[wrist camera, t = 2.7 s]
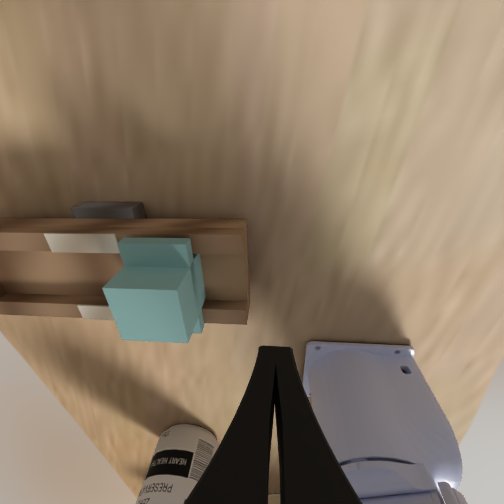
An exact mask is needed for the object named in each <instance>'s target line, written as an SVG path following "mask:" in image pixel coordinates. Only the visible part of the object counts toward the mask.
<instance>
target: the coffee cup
mask: <svg viewBox="0 0 504 504" xmlns="http://www.w3.org/2000/svg"><path fill="white" fill-rule="evenodd" d="M268 504H280V494H269V495H268Z"/></svg>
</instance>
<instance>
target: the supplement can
mask: <svg viewBox="0 0 504 504" xmlns="http://www.w3.org/2000/svg"><path fill="white" fill-rule="evenodd" d="M218 447H219V443H218V441H217V440H216V437H215V436H214V435H213V434H212V433H211V432H210V431H208V430H206V429H204V428H202V427H199V426H196V425H189V424H179V425H174V426H172V427H170V428H169V429H168V430H166V431H164V432H163V433H162V434H161V435H160V438H159V441H158V443H157V446H156V449H155V452H154V454H153V457H152V460H151V463H150V466H149V468H148V471H147V474H146V477H145V479H144V482H143V485H142V488H141V490H140V493H139V496H138V499H137V502H136V504H184V502H185V501H186V499H187V498H188V496H189V494H190V493H191V491H192V490H193V488H194V487H195V485H196V484H197V482H198V481H199V479H200V477H201V476H202V474H203V473H204V471H205V469H206V468H207V466H208V464H209V463H210V461H211V459H212V457H213V456H214V454H215V452H216V450H217V449H218Z"/></svg>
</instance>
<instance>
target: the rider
mask: <svg viewBox="0 0 504 504" xmlns="http://www.w3.org/2000/svg"><path fill="white" fill-rule="evenodd" d="M117 246H118V249H119V252H120V255H121V258H122V261H123V264H124V267H123V268H122V269H121V270H120V271H119V272H118V273H117V274H116V275H115V276H114V277H113V278H112V279H111V280H110V281H109V282H108V283H107V284H106V285H105V286H104V287H103V288H102V289H103V292H104V294H105V297H106V299H107V302H108V304H109V307H110V310H111V312H112V315H113V317H114V320H115V322H116V325H117V328H118V330H119V333H120V335H121V338H122V340H132V341H153V342H173V343H189V340H190V337H191V335H192V333H200V334H201V333H202V330H203V327H204V321H203V314H202V306H203V304H204V301H205V298H206V293H205V286H204V280H203V273H202V266H201V259H200V254H193V253H192V247H191V241H190V238H131V237H124V238H123V239H122V240H121V241H119V242H118V243H117Z"/></svg>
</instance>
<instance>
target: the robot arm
mask: <svg viewBox="0 0 504 504" xmlns="http://www.w3.org/2000/svg"><path fill="white" fill-rule="evenodd" d="M317 346H319V347H317ZM414 353H415V350H414V349H413V347H412V346H404V345H383V344H361V343H340V342H318V341H310V342H308V343H307V345H306V354H305V363H304V372H303V381H302V382H301V379H300V376H299V373H298V370H297V366H296V363H295V359H294V355H293V349H292V348H291V347H279V346H260V347H259V351H258V356H257V360H256V363H255V367H254V370H253V373H252V376H251V378H250V381H249V384H248V386H247V389H246V391H245V394H244V396H243V398H242V401H241V403H240V405H239V407H238V410H237V412H236V414H235V416H234V418H233V420H232V422H231V424H230V426H229V428H228V430H227V432H226V434H225V436H224V438H223V440H222V441H221V443H220V445H219V447H218V449H217V450H216V452H215V454H214V456H213V457H212V459H211V461H210V463H209V464H208V466H207V468H206V469H205V471H204V473H203V474H202V476H201V477H200V479H199V481H198V482H197V484H196V485H195V487H194V488H193V490H192V491H191V493H190V494H189V496H188V498H187V499H186V501H185V502H184V504H268V480H269V462H270V450H271V439H272V428H273V417H274V405H275V412H276V426H277V439H278V452H279V467H280V504H445V503H446V504H467V502H466V500H465V498H464V496H463V495H462V494H461V493H460V492H458V491H457V490H456V489H457V488H458V487H459V485H460V482H461V478H462V460H461V455H460V451H459V447H458V443H457V440H456V437H455V435H454V432H453V430H452V427H451V425H450V423H449V421H448V419H447V418H446V416H445V414H444V412H443V410H442V409H441V407H440V405H439V403H438V401H437V400H436V398H435V396H434V394H433V393H432V391H431V389H430V387H429V385H428V384H427V382H426V380H425V378H424V376H423V375H422V373H421V371H420V369H419V368H418V366H417V364H416V362H415V360H414V359H413V356H414ZM308 397H311V403H312V407H311V405H310V402H309V400H308ZM440 492H441V494H442V496H443V498H442V496H441V494H440ZM443 499H444V500H443ZM444 501H445V503H444Z"/></svg>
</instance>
